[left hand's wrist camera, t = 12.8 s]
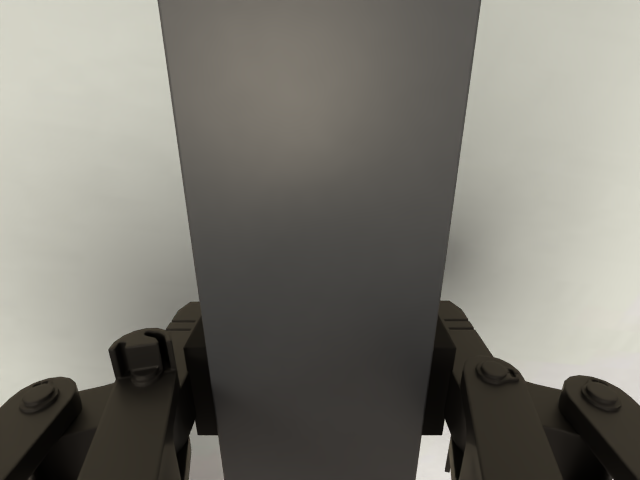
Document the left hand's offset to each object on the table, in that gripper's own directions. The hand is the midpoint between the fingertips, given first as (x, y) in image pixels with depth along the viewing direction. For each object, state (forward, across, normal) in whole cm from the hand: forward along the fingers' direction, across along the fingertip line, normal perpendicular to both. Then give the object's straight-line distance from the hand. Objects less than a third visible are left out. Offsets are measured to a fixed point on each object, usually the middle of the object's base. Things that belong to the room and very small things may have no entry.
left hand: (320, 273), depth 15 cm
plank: (+1, 0, -28) cm, 28 cm away
